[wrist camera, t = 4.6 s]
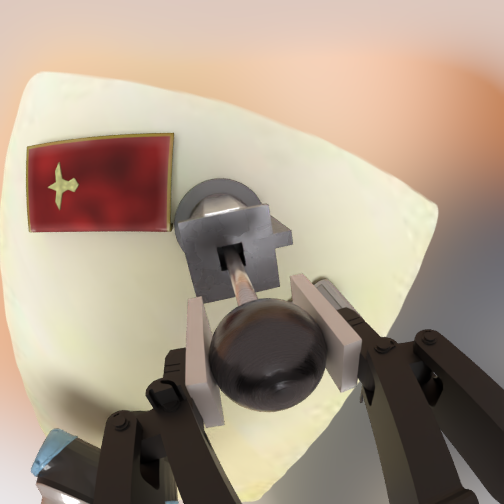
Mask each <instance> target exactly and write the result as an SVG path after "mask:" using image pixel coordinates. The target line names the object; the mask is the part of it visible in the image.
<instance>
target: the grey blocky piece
mask: <svg viewBox="0 0 504 504" xmlns="http://www.w3.org/2000/svg"><path fill="white" fill-rule="evenodd" d="M178 226H179V230H180V235H181V239H182V243H183V247H184V251H185V255H186V259H187V263H188V267H189V271H190V275H191V279H192V282H193V286H194V290H195V293H196V297H200V296H202V300H203V304H204V303H209V302H214V301H219V300H223V299H228V298H232V297H236V296H235V292H234V289H233V285H232V282H231V278H230V275H229V271H228V268H227V267H224V268H221V266H220V261H219V257H218V252H217V247H222V246H226V245H231V244H236V243H240V242H241V243H242V249H243V254H244V260H245V263H242V264H243V266H244V268H245V271H246V273H247V275H248V277H249V280H250V282H251V284H252V287H253V289H254V291H255V292H259V291H263V290H267V289H272V288H276V287H280V282H279V275H278V267H277V260H276V253H275V248H279V247H283V246H288V245H292V244H293V241H292V232H291V230H290V229H289V228H287V227H286V226H285V225H283V224H282V223H281V222H279V221H278V220H276V219H275V218H274V217H272V216H271V215H270V211H269V205H268V204H261V205H256V206H251V207H248V206H247V205H246V204H245V203H244V202H243V201H242V200H241V199H239V198H238V197H236V196H234V195H231V194H228V193H214V194H211V195H208V196H206V197H204V198H203V199H201V200H200V201H199V202H198V203H197V204H196V205H195V206H194V208H193V209H192V211H191V213H190V216H189V219H187V220H183V221H179V222H178Z"/></svg>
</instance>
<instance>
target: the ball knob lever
mask: <svg viewBox="0 0 504 504" xmlns="http://www.w3.org/2000/svg"><path fill="white" fill-rule="evenodd" d="M217 252H218V257H219V261H220V266H221V268H224V267H227V268H228V271H229V275H230V278H231V282H232V285H233V289H234V292H235V296H236V299H237V303H238V307H236V308H235V309H233V310H232V311H231V312H230V313H229V314H227V315H226V316H225V317H224V318H223V320H222V321H221V322H220V323H219V325H218V326H217V328H216V330H215V332H214V334H213V336H212V340H211V344H210V349H209V362H210V368H211V371H212V374H213V377H214V379H215V381H216V383H217V385H218V386H219V388H220V389H221V391H222V392H223V393H224V394H225V395H226V396H227V397H228V398H229V399H231V400H232V401H233V402H235V403H236V404H238V405H240V406H242V407H244V408H247V409H250V410H254V411H259V412H276V411H281V410H285V409H288V408H291V407H293V406H295V405H297V404H299V403H300V402H302V401H303V400H304V399H306V398H307V397H308V396H309V395H310V394H311V393H312V392H313V391H314V390H315V388H316V387H317V385H318V384H319V382H320V380H321V379H322V376H323V374H324V371H325V367H326V360H327V348H326V342H325V339H324V336H323V333H322V331H321V329H320V327H319V325H318V324H317V322H316V321H315V320H314V319H313V317H312V316H311V315H310V314H309V313H308V312H306V311H305V310H303V309H302V308H301V307H299V306H297V305H295V304H293V303H291V302H288V301H285V300H281V299H272V298H264V299H258V298H257V296H256V293H255V291H254V289H253V287H252V284H251V282H250V280H249V277H248V275H247V273H246V271H245V268H244V266H243V264H242V263H245V260H244V254H243V249H242V243H241V242H240V243H236V244H231V245H226V246H222V247H217Z"/></svg>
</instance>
